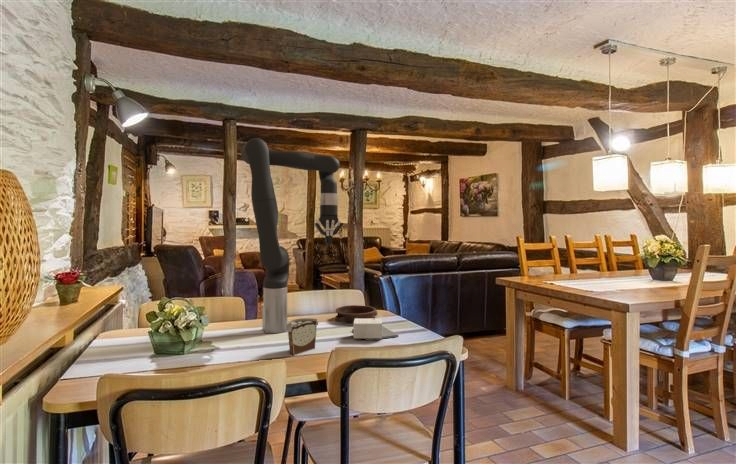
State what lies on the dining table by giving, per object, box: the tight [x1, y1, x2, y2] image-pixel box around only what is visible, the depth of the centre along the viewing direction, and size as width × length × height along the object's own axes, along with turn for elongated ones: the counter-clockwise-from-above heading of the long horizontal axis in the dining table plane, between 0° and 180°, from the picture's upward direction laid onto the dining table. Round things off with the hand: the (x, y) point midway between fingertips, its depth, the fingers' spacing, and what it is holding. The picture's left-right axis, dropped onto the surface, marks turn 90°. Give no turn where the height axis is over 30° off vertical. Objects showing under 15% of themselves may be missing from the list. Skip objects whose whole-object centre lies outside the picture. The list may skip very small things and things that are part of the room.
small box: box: [353, 317, 383, 339], centre depth 158 cm, size 8×6×10 cm
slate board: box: [352, 325, 399, 342], centre depth 163 cm, size 13×14×1 cm
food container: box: [286, 317, 319, 356], centre depth 142 cm, size 12×6×10 cm, turn 141°
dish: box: [334, 304, 378, 324], centre depth 185 cm, size 18×22×5 cm
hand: (328, 244), depth 181 cm, fingers closed
